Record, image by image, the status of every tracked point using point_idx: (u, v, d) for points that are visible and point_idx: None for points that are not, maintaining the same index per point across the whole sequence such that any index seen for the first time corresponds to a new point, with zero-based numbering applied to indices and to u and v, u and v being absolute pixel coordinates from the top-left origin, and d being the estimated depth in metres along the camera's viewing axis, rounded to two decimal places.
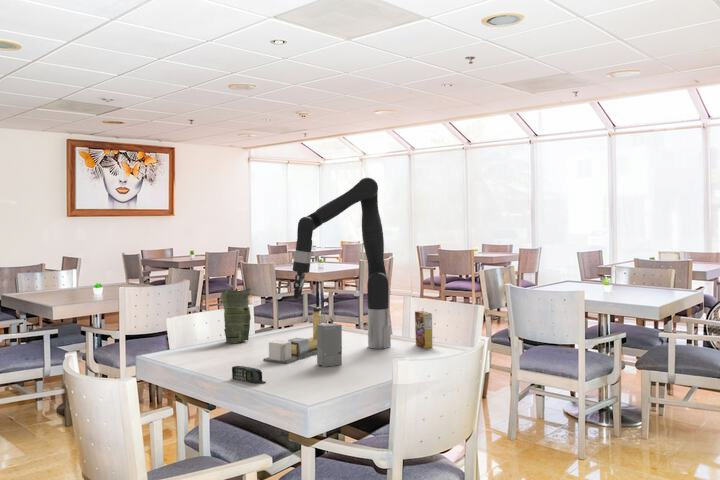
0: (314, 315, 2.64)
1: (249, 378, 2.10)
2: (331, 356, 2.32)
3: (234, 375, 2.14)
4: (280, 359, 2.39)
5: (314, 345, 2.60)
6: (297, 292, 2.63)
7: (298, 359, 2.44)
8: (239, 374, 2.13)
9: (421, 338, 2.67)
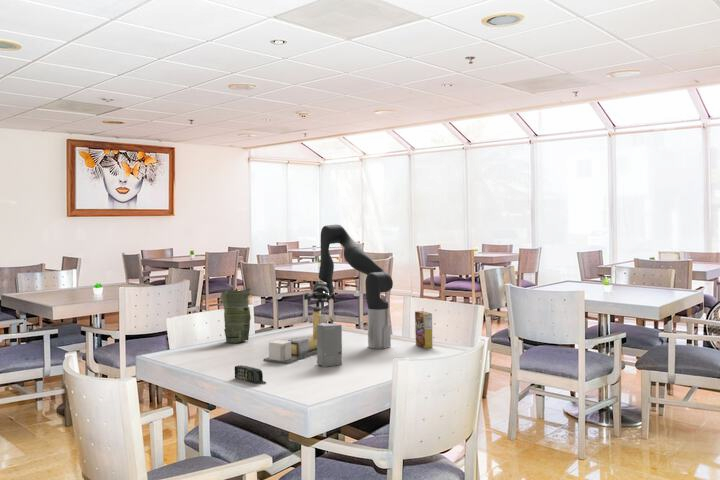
0: (314, 315, 2.64)
1: (250, 377, 2.10)
2: (331, 356, 2.32)
3: (237, 375, 2.15)
4: (280, 359, 2.39)
5: (314, 345, 2.60)
6: None
7: (298, 359, 2.44)
8: (241, 374, 2.13)
9: (421, 338, 2.67)
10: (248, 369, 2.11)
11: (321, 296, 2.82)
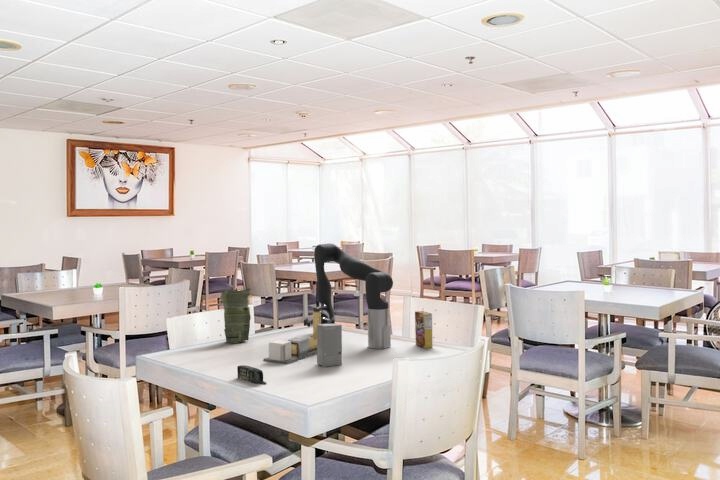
0: (314, 315, 2.64)
1: (251, 378, 2.10)
2: (331, 356, 2.32)
3: (239, 375, 2.15)
4: (280, 359, 2.39)
5: (314, 345, 2.60)
6: (307, 322, 2.75)
7: (298, 359, 2.44)
8: (243, 374, 2.14)
9: (421, 338, 2.67)
10: (249, 369, 2.11)
11: (321, 322, 2.78)
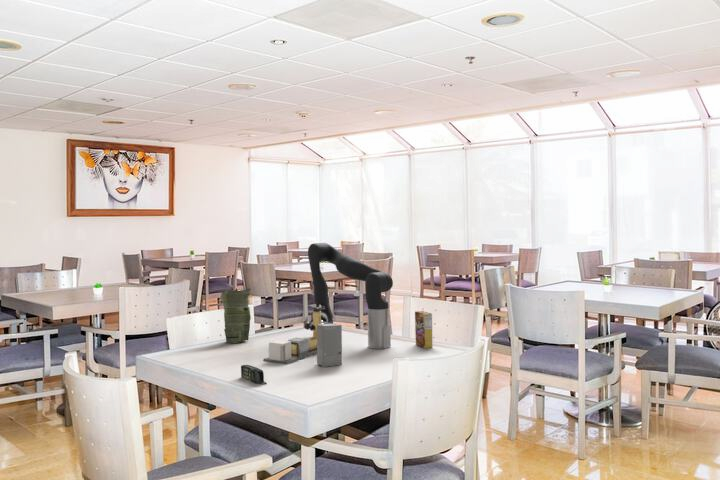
0: (314, 315, 2.64)
1: (252, 377, 2.10)
2: (331, 356, 2.32)
3: (242, 374, 2.16)
4: (280, 359, 2.39)
5: (314, 345, 2.60)
6: (309, 326, 2.65)
7: (298, 359, 2.44)
8: (246, 374, 2.14)
9: (421, 338, 2.67)
10: (251, 369, 2.11)
11: None
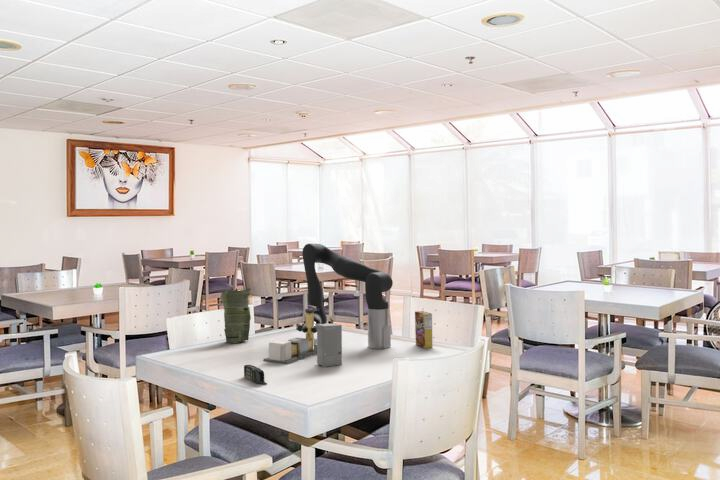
0: (307, 317, 2.59)
1: (253, 378, 2.10)
2: (331, 356, 2.32)
3: (245, 374, 2.16)
4: (280, 359, 2.39)
5: None
6: (302, 328, 2.60)
7: (298, 359, 2.44)
8: (248, 374, 2.14)
9: (421, 338, 2.67)
10: (252, 369, 2.11)
11: None
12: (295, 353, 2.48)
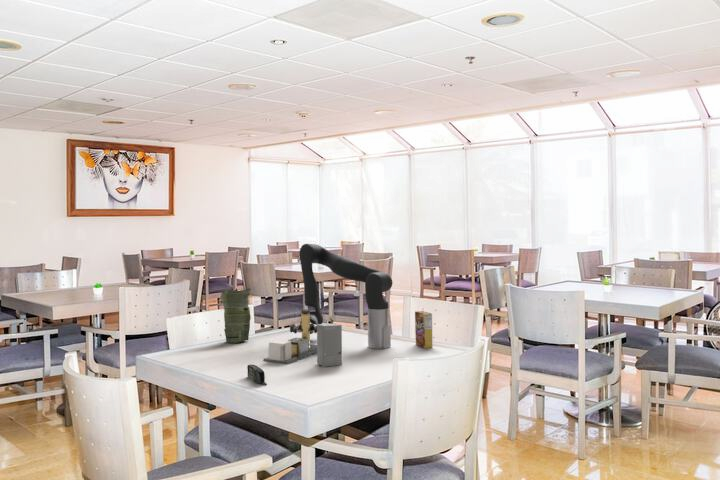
0: (303, 318, 2.56)
1: (254, 378, 2.10)
2: (331, 356, 2.32)
3: (248, 374, 2.17)
4: (280, 359, 2.39)
5: None
6: (293, 329, 2.59)
7: (298, 359, 2.44)
8: (250, 373, 2.14)
9: (421, 338, 2.67)
10: (254, 369, 2.11)
11: None
12: (291, 354, 2.46)
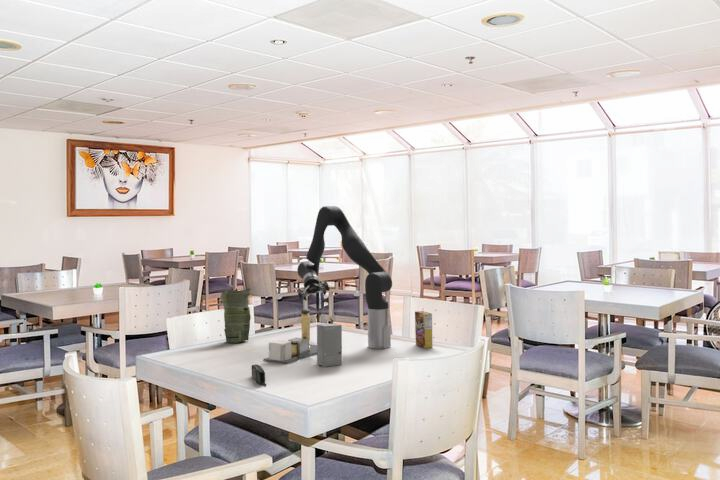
0: (303, 318, 2.56)
1: (256, 378, 2.10)
2: (331, 356, 2.32)
3: (252, 374, 2.17)
4: (280, 359, 2.39)
5: None
6: (302, 296, 2.70)
7: (298, 359, 2.44)
8: (253, 373, 2.14)
9: (421, 338, 2.67)
10: (255, 369, 2.11)
11: (315, 290, 2.74)
12: (291, 354, 2.46)
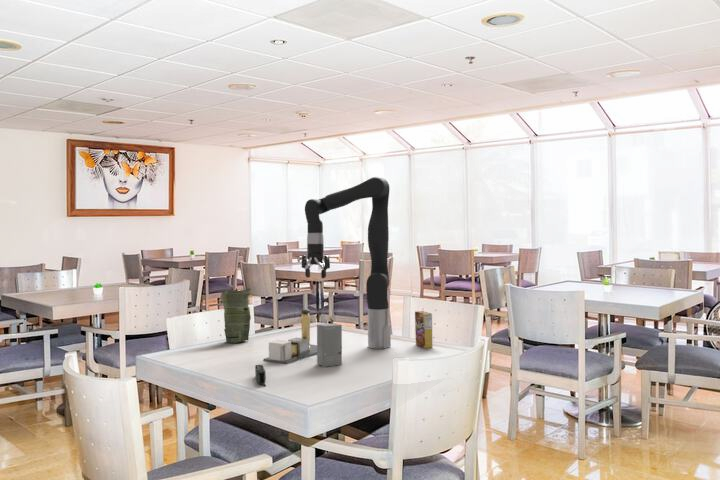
0: (303, 318, 2.56)
1: None
2: (331, 356, 2.32)
3: None
4: (280, 359, 2.39)
5: None
6: None
7: (298, 359, 2.44)
8: (256, 373, 2.14)
9: (421, 338, 2.67)
10: (257, 369, 2.11)
11: None
12: (291, 354, 2.46)
